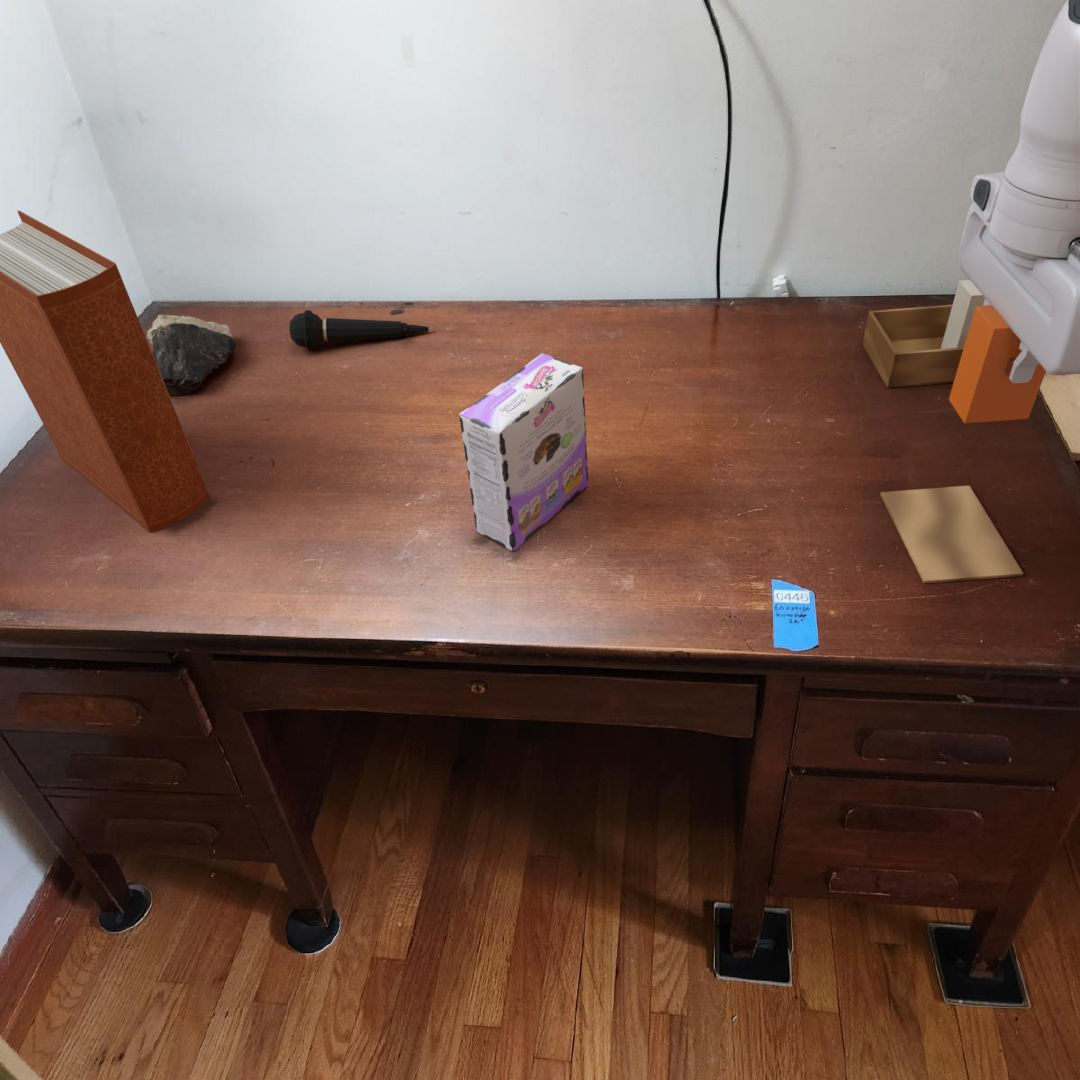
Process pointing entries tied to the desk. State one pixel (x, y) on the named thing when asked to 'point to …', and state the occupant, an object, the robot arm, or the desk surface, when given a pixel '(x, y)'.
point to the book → (94, 375)
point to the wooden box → (911, 346)
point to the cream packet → (962, 314)
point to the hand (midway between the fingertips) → (1003, 362)
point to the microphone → (344, 329)
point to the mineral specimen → (188, 350)
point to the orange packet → (991, 373)
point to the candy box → (526, 449)
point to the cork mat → (949, 535)
